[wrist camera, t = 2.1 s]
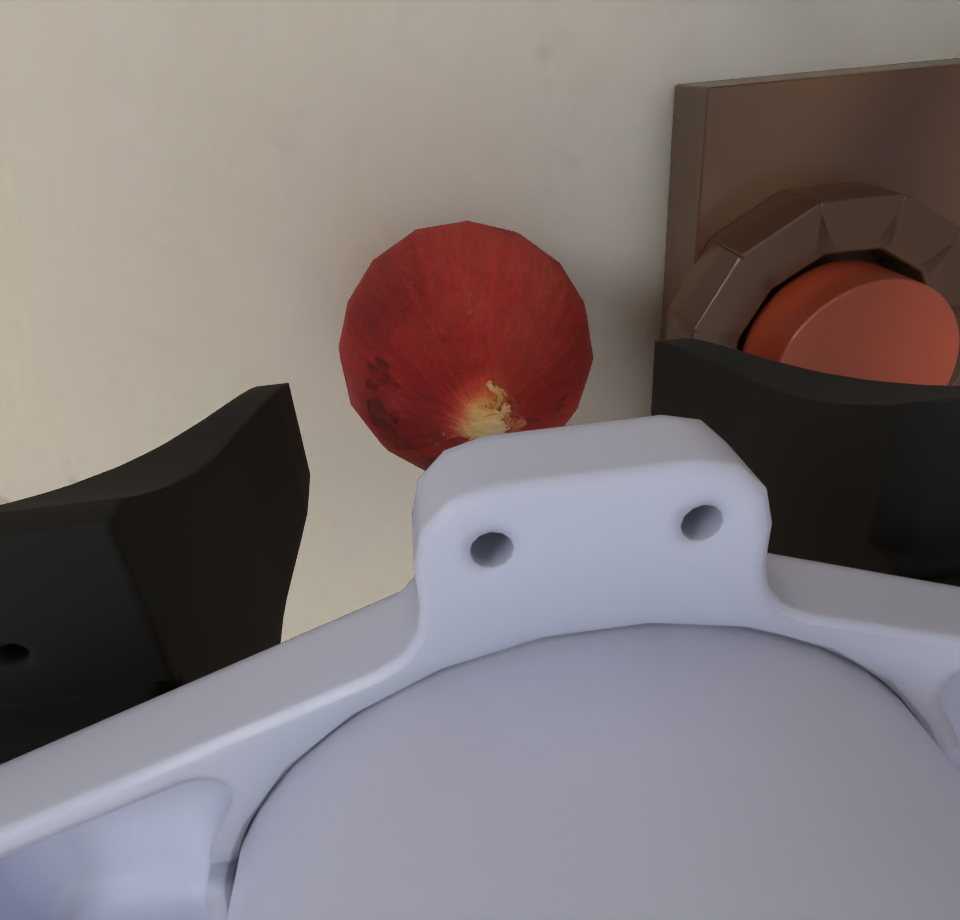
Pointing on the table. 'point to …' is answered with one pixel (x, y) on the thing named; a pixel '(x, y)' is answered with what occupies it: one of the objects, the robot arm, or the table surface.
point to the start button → (859, 325)
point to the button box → (809, 188)
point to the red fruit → (463, 340)
